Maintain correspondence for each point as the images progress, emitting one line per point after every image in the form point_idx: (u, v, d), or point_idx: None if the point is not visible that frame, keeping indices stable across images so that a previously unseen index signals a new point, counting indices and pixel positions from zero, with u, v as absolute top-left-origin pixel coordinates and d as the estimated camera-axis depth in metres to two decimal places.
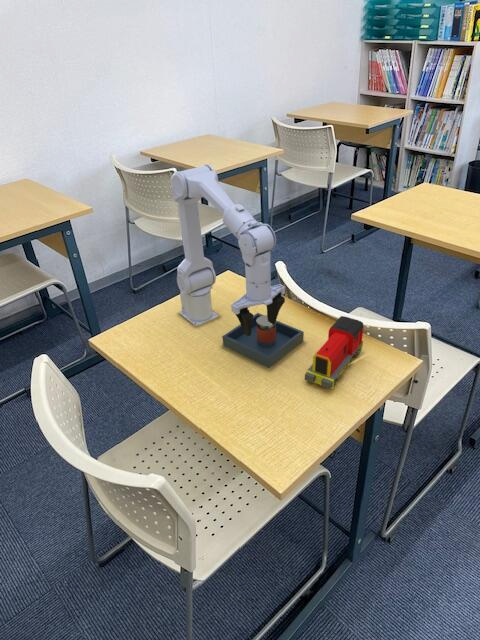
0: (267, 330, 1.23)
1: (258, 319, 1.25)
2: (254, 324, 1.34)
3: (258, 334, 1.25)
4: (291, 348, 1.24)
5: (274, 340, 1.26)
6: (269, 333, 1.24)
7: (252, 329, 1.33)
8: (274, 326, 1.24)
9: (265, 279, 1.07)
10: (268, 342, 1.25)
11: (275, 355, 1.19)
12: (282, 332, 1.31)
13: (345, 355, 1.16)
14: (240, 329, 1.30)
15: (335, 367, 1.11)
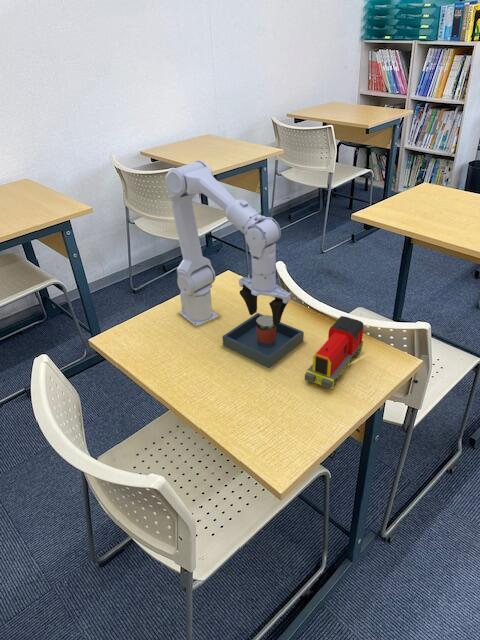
0: (267, 330, 1.23)
1: (258, 319, 1.25)
2: (254, 324, 1.34)
3: (258, 334, 1.25)
4: (291, 348, 1.24)
5: (274, 340, 1.26)
6: (269, 333, 1.24)
7: (252, 329, 1.33)
8: (274, 326, 1.24)
9: (272, 270, 1.13)
10: (268, 342, 1.25)
11: (275, 355, 1.19)
12: (282, 332, 1.31)
13: (345, 355, 1.16)
14: (240, 329, 1.30)
15: (335, 367, 1.11)
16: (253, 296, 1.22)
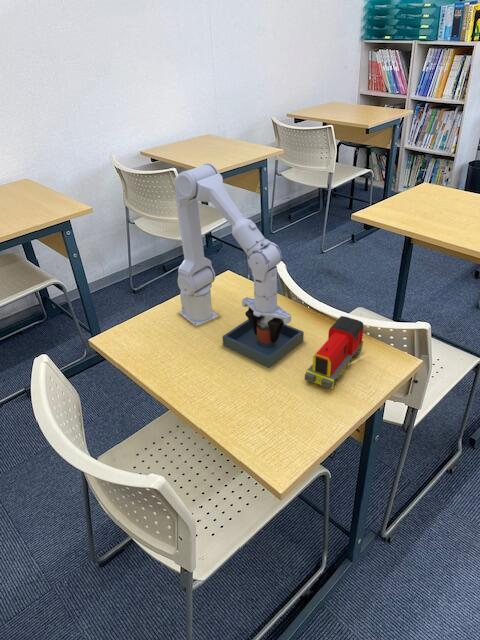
0: (267, 330, 1.23)
1: (258, 319, 1.25)
2: None
3: (258, 334, 1.25)
4: (291, 348, 1.24)
5: None
6: (269, 333, 1.24)
7: (252, 329, 1.33)
8: None
9: (274, 292, 1.18)
10: (268, 342, 1.25)
11: (275, 355, 1.19)
12: (282, 332, 1.31)
13: (345, 355, 1.16)
14: (240, 329, 1.30)
15: (335, 367, 1.11)
16: None
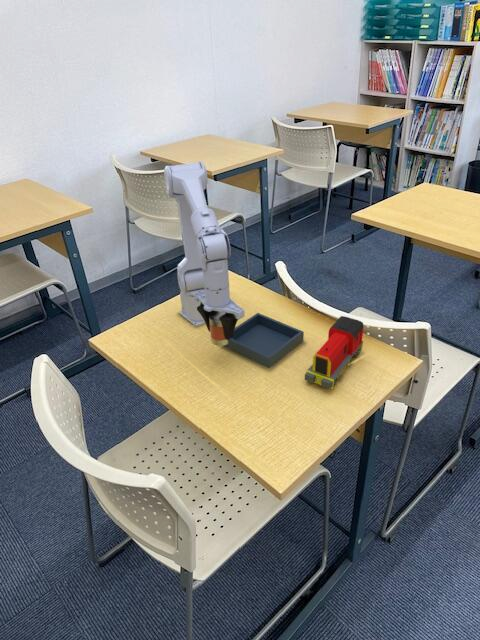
0: (219, 327, 1.14)
1: (211, 314, 1.15)
2: (254, 324, 1.34)
3: (211, 331, 1.16)
4: (291, 348, 1.24)
5: None
6: (223, 330, 1.14)
7: (252, 329, 1.33)
8: None
9: (219, 286, 1.07)
10: (222, 339, 1.16)
11: (275, 355, 1.19)
12: (282, 332, 1.31)
13: (345, 355, 1.16)
14: (240, 329, 1.30)
15: (335, 367, 1.11)
16: (211, 312, 1.17)
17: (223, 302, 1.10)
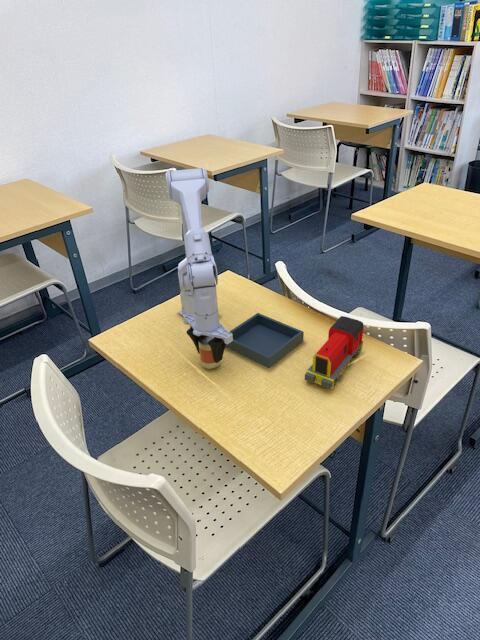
0: (208, 350, 1.15)
1: (200, 338, 1.17)
2: (254, 324, 1.34)
3: (200, 354, 1.17)
4: (291, 348, 1.24)
5: None
6: (212, 353, 1.16)
7: (252, 329, 1.33)
8: None
9: (205, 312, 1.09)
10: (211, 362, 1.17)
11: (275, 355, 1.19)
12: (282, 332, 1.31)
13: (345, 355, 1.16)
14: (240, 329, 1.30)
15: (335, 367, 1.11)
16: (201, 335, 1.18)
17: (212, 327, 1.11)
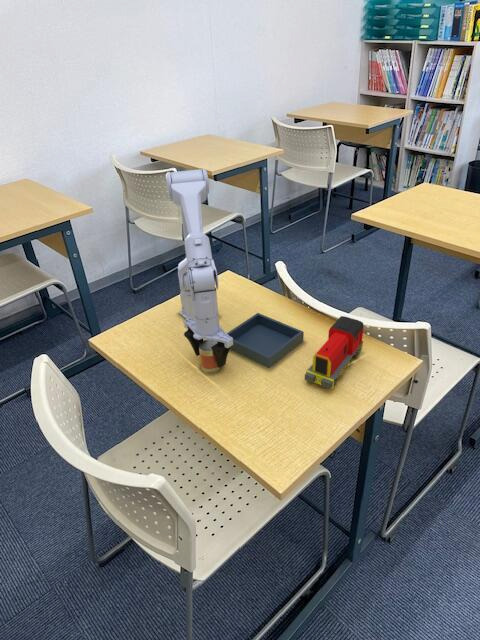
0: (209, 356, 1.16)
1: (201, 344, 1.18)
2: (254, 324, 1.34)
3: (201, 359, 1.18)
4: (291, 348, 1.24)
5: None
6: (212, 359, 1.17)
7: (252, 329, 1.33)
8: None
9: (206, 316, 1.09)
10: (211, 368, 1.18)
11: (275, 355, 1.19)
12: (282, 332, 1.31)
13: (345, 355, 1.16)
14: (240, 329, 1.30)
15: (335, 367, 1.11)
16: None
17: (212, 331, 1.12)
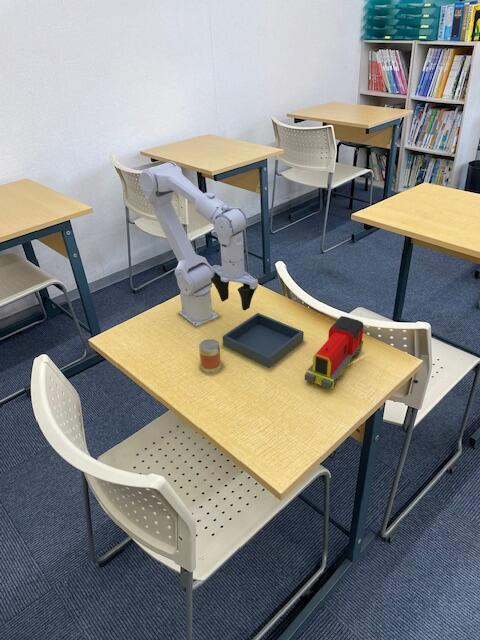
0: (209, 356, 1.16)
1: (201, 344, 1.18)
2: (254, 324, 1.34)
3: (201, 359, 1.18)
4: (291, 348, 1.24)
5: (218, 366, 1.19)
6: (212, 359, 1.17)
7: (252, 329, 1.33)
8: (217, 351, 1.17)
9: (240, 257, 1.19)
10: (211, 368, 1.18)
11: (275, 355, 1.19)
12: (282, 332, 1.31)
13: (345, 355, 1.16)
14: (240, 329, 1.30)
15: (335, 367, 1.11)
16: (224, 283, 1.28)
17: (238, 273, 1.21)
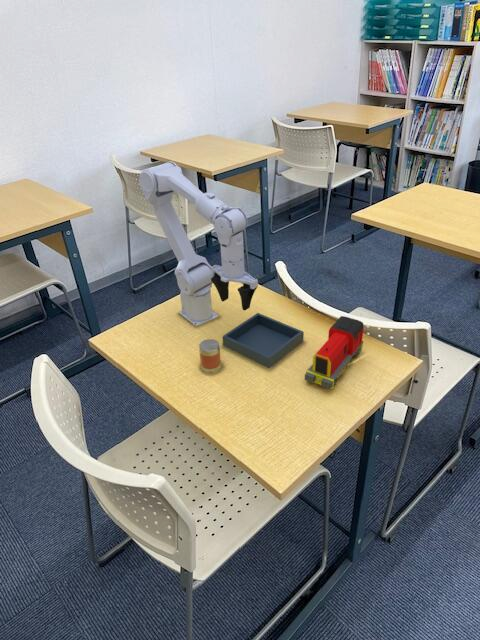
0: (209, 356, 1.16)
1: (201, 344, 1.18)
2: (254, 324, 1.34)
3: (201, 359, 1.18)
4: (291, 348, 1.24)
5: (218, 366, 1.19)
6: (212, 359, 1.17)
7: (252, 329, 1.33)
8: (217, 351, 1.17)
9: (240, 257, 1.19)
10: (211, 368, 1.18)
11: (275, 355, 1.19)
12: (282, 332, 1.31)
13: (345, 355, 1.15)
14: (240, 329, 1.30)
15: (335, 367, 1.11)
16: (224, 283, 1.28)
17: (238, 273, 1.21)
